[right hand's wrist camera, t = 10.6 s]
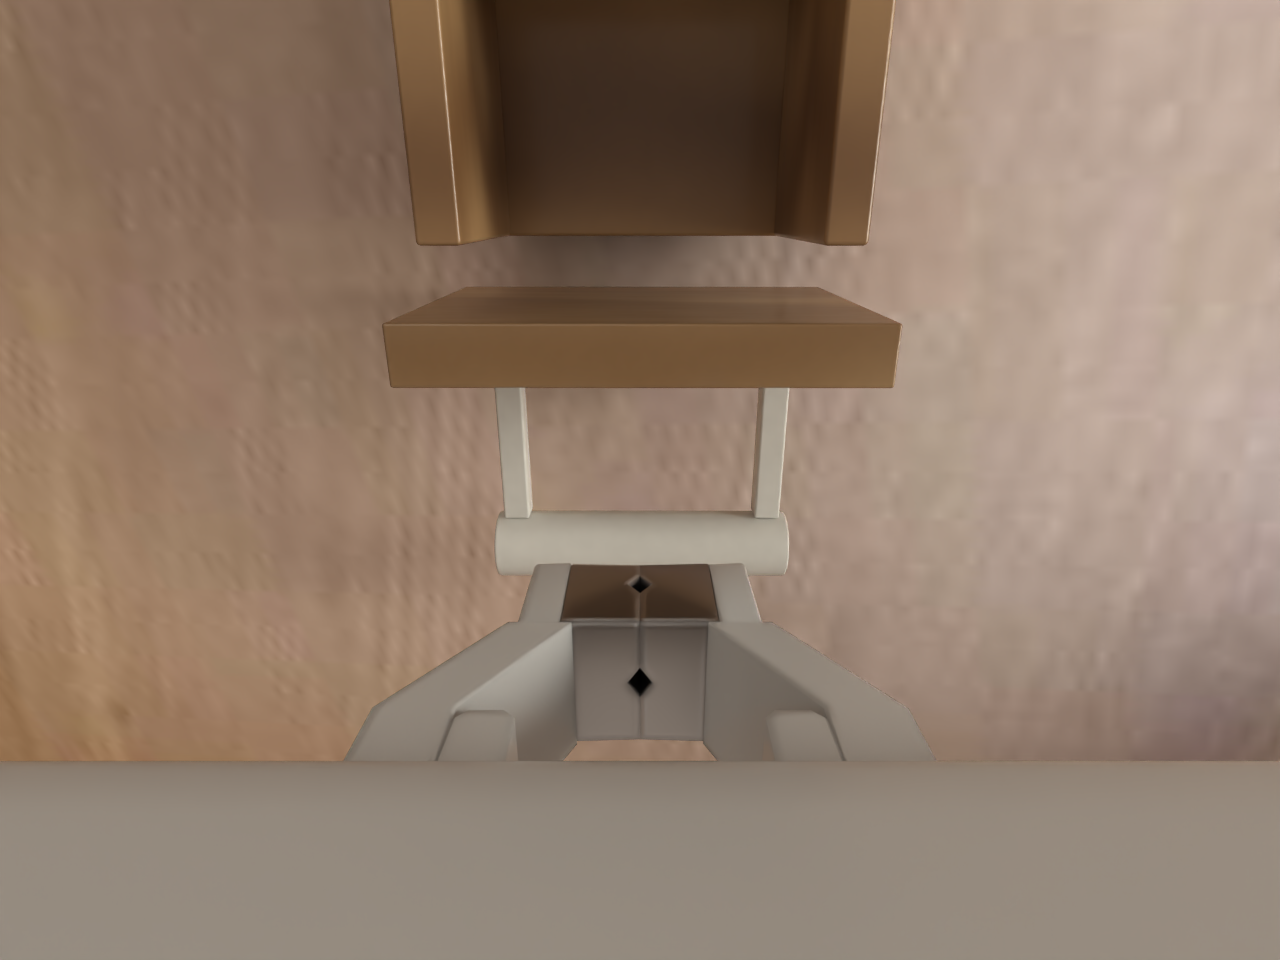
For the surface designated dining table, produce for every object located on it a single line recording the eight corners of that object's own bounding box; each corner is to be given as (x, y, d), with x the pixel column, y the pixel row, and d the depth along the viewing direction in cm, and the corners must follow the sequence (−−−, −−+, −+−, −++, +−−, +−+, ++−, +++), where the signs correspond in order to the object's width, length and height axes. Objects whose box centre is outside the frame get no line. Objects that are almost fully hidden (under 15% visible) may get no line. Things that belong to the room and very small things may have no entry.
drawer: (798, 513, 21) (860, 634, 15) (484, 513, 21) (422, 633, 15) (905, -647, 12) (1146, -1425, 6) (380, -646, 12) (143, -1424, 6)
